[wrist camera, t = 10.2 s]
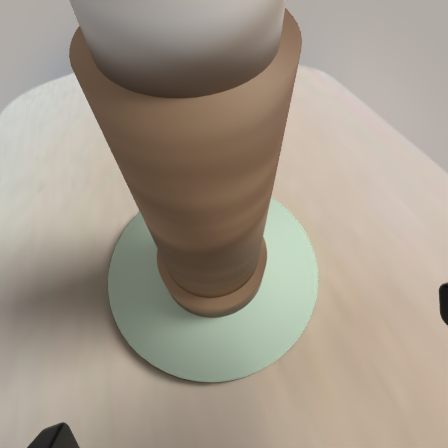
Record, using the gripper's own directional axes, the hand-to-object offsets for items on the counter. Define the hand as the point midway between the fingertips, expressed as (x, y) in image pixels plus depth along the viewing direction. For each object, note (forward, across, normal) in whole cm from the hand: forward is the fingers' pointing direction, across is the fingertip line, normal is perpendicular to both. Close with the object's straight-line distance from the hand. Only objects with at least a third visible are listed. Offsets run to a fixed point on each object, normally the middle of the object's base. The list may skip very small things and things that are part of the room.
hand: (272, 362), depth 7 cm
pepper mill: (+9, 0, +1) cm, 10 cm away
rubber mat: (+10, 0, +2) cm, 10 cm away
